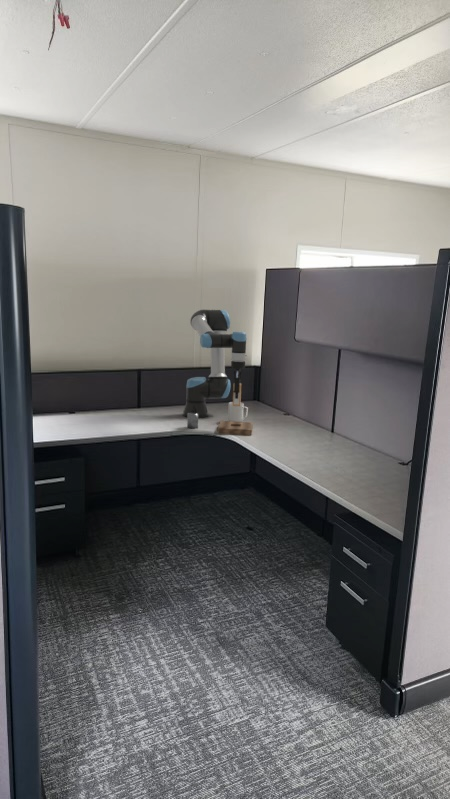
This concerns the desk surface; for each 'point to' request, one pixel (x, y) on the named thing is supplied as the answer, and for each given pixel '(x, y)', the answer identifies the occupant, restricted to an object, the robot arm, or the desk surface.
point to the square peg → (239, 395)
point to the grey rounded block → (192, 420)
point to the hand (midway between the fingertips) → (236, 403)
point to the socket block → (235, 428)
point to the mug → (236, 412)
